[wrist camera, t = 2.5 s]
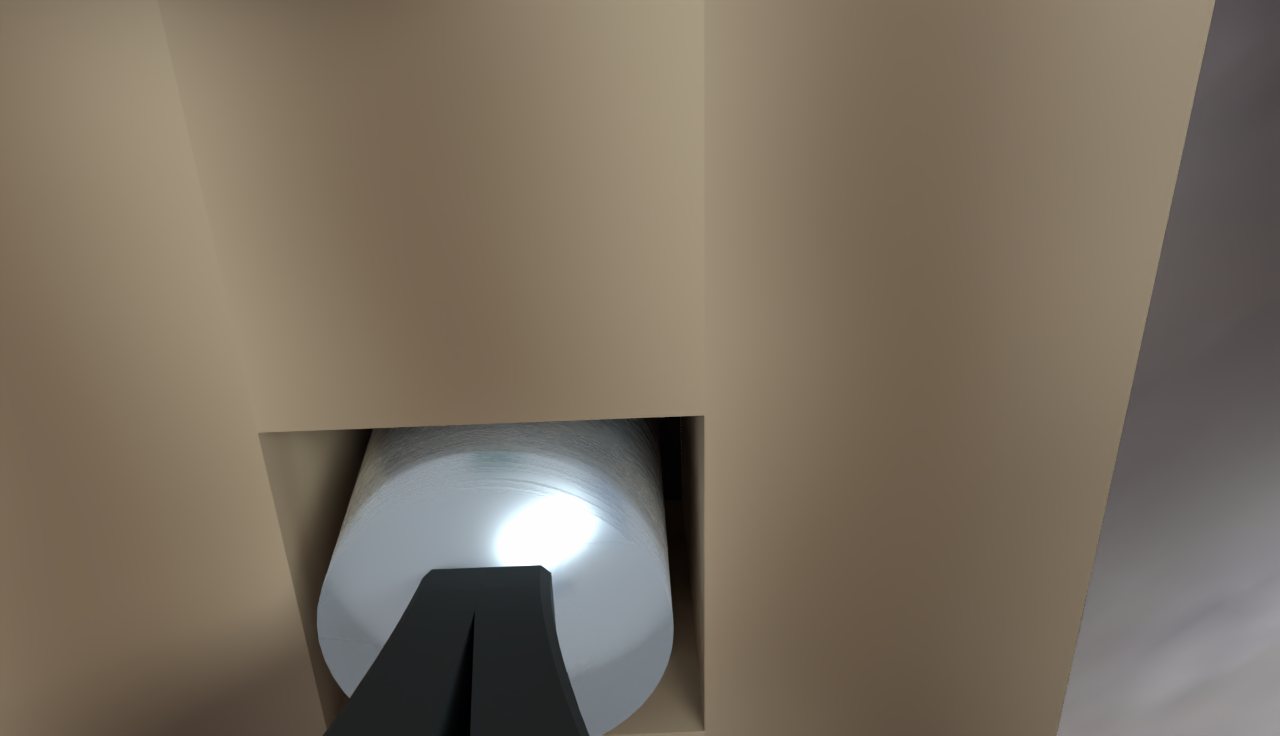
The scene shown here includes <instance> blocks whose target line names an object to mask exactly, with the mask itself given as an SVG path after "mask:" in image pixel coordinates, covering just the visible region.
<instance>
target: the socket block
mask: <svg viewBox="0 0 1280 736" xmlns="http://www.w3.org/2000/svg"><path fill="white" fill-rule="evenodd" d="M1214 5H1215V0H0V736H323V734H324V733H325V732H326V730H327V729H328V728H329V726H330V725H331V724H332V722H333V721H334V720H335V718H336V717H337V716H338V714H339V713H340V711H341V710H342V709H343V707H344V706H345V704H346V703H347V701H348V700H349V697H348V696H347V695H346V694H345V693H344V692H343V690H342V689H341V687H340V686H339V684H338V683H337V682H336V680H335V679H334V677H333V676H332V674H331V672H330V670H329V668H328V666H327V664H326V662H325V660H324V656H323V653H322V650H321V647H320V644H319V638H318V630H317V607H318V603H319V598H320V594H321V589H322V586H323V583H324V580H325V577H326V574H327V571H328V568H329V564H330V561H331V558H332V555H333V552H334V549H335V546H336V543H337V539H338V536H339V533H340V530H341V527H342V524H343V521H344V518H345V514H346V511H347V508H348V505H349V502H350V499H351V496H352V493H353V489H354V486H355V483H356V480H357V477H358V474H359V471H360V468H361V465H362V461H363V458H364V455H365V452H366V449H367V446H368V443H369V440H370V436H371V433H372V430H373V428H394V427H420V426H445V425H471V424H497V423H523V422H548V421H574V420H600V419H625V418H651V417H677V416H680V420H681V499H672V500H664V508H665V521H666V534H667V547H668V560H669V573H670V586H671V599H672V612H673V625H674V632H673V646H672V650H671V654H670V658H669V662H668V664H667V667H666V669H665V671H664V674H663V676H662V678H661V680H660V682H659V683H658V685H657V686H656V688H655V689H654V691H653V693H652V694H651V695H650V696H649V698H648V699H647V700H646V701H645V702H644V703H643V705H642V706H641V707H640V708H639V709H638V710H636V711H635V712H634V713H633V714H632V715H631V716H630V717H629V718H627V719H626V720H625V721H624V722H622V723H621V724H619V725H618V726H616V727H615V728H613V729H612V730H610V731H609V732H607V733H605V734H603V735H601V736H1056V735H1057V731H1058V726H1059V722H1060V717H1061V712H1062V708H1063V703H1064V698H1065V694H1066V689H1067V685H1068V680H1069V675H1070V671H1071V666H1072V661H1073V657H1074V652H1075V648H1076V643H1077V638H1078V634H1079V629H1080V624H1081V620H1082V615H1083V611H1084V606H1085V601H1086V597H1087V592H1088V587H1089V583H1090V578H1091V574H1092V569H1093V564H1094V560H1095V555H1096V550H1097V546H1098V541H1099V537H1100V532H1101V527H1102V523H1103V518H1104V513H1105V509H1106V504H1107V500H1108V495H1109V490H1110V486H1111V481H1112V476H1113V472H1114V467H1115V463H1116V458H1117V453H1118V449H1119V444H1120V439H1121V435H1122V430H1123V426H1124V421H1125V416H1126V412H1127V407H1128V402H1129V398H1130V393H1131V389H1132V384H1133V379H1134V375H1135V370H1136V365H1137V361H1138V356H1139V352H1140V347H1141V342H1142V338H1143V333H1144V328H1145V324H1146V319H1147V315H1148V310H1149V305H1150V301H1151V296H1152V291H1153V287H1154V282H1155V278H1156V273H1157V268H1158V264H1159V259H1160V254H1161V250H1162V245H1163V241H1164V236H1165V231H1166V227H1167V222H1168V217H1169V213H1170V208H1171V203H1172V199H1173V194H1174V190H1175V185H1176V180H1177V176H1178V171H1179V166H1180V162H1181V157H1182V153H1183V148H1184V143H1185V139H1186V134H1187V129H1188V125H1189V120H1190V116H1191V111H1192V106H1193V102H1194V97H1195V92H1196V88H1197V83H1198V79H1199V74H1200V69H1201V65H1202V60H1203V55H1204V51H1205V46H1206V42H1207V37H1208V32H1209V28H1210V23H1211V18H1212V14H1213V9H1214Z"/></svg>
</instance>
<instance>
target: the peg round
mask: <svg viewBox="0 0 1280 736" xmlns="http://www.w3.org/2000/svg"><path fill="white" fill-rule="evenodd" d="M526 565H542V566H543V567H544V568H546V569H547V570H548V571H549V572H551V574H552V586H553V598H554V609H555V621H556V632H557V636H558V641H559V645H560V649H561V653H562V657H563V660H564V664H565V667H566V670H567V673H568V676H569V679H570V682H571V685H572V688H573V691H574V694H575V697H576V700H577V703H578V706H579V709H580V712H581V715H582V717H583V720H584V722H585V725H586V728H587V730H588V733H589V735H590V736H601V735H603V734H605V733H607V732H609V731H610V730H612V729H613V728H615V727H616V726H618V725H619V724H621V723H622V722H624V721H625V720H626V719H627V718H629V717H630V716H631V715H632V714H633V713H634V712H635V711H636V710H638V709H639V708H640V707H641V706H642V705H643V703H644V702H645V701H646V700H647V699H648V698H649V696H650V695H651V694H652V693H653V691H654V689H655V688H656V686H657V685H658V683H659V682H660V680H661V678H662V676H663V674H664V671H665V669H666V667H667V664H668V662H669V658H670V654H671V650H672V646H673V632H674V625H673V612H672V599H671V586H670V573H669V560H668V547H667V534H666V521H665V508H664V495H663V482H662V469H661V456H660V443H659V430H658V417H651V418H625V419H600V420H574V421H548V422H523V423H497V424H471V425H445V426H420V427H394V428H373V430H372V433H371V436H370V440H369V443H368V446H367V449H366V452H365V455H364V458H363V461H362V465H361V468H360V471H359V474H358V477H357V480H356V483H355V486H354V489H353V493H352V496H351V499H350V502H349V505H348V508H347V511H346V514H345V518H344V521H343V524H342V527H341V530H340V533H339V536H338V539H337V543H336V546H335V549H334V552H333V555H332V558H331V561H330V564H329V568H328V571H327V574H326V577H325V580H324V583H323V586H322V589H321V594H320V598H319V603H318V607H317V630H318V638H319V644H320V647H321V650H322V653H323V656H324V660H325V662H326V664H327V666H328V668H329V670H330V672H331V674H332V676H333V677H334V679H335V680H336V682H337V683H338V684H339V686H340V687H341V689H342V690H343V692H344V693H345V694H346V695H347V696H348V697H349V698H350V697H351V695H352V694H353V692H354V691H355V689H356V688H357V686H358V685H359V683H360V682H361V680H362V679H363V677H364V676H365V674H366V673H367V671H368V670H369V668H370V667H371V665H372V664H373V662H374V661H375V659H376V658H377V656H378V655H379V653H380V651H381V650H382V648H383V647H384V645H385V643H386V642H387V640H388V638H389V637H390V635H391V634H392V632H393V630H394V629H395V627H396V625H397V624H398V622H399V620H400V618H401V617H402V615H403V613H404V611H405V610H406V608H407V606H408V604H409V603H410V601H411V599H412V597H413V595H414V593H415V592H416V590H417V588H418V586H419V584H420V582H421V580H422V578H423V577H424V576H425V575H426V574H427V573H428V572H429V571H430V570H432V569H453V568H478V567H503V566H526Z"/></svg>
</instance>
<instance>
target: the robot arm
mask: <svg viewBox="0 0 1280 736" xmlns="http://www.w3.org/2000/svg"><path fill="white" fill-rule="evenodd" d="M323 736H590V735H589V733H588V730H587V728H586V725H585V722H584V720H583V717H582V715H581V712H580V709H579V706H578V703H577V700H576V697H575V694H574V691H573V688H572V685H571V682H570V679H569V676H568V673H567V670H566V667H565V664H564V660H563V657H562V653H561V649H560V645H559V641H558V636H557V632H556V621H555V609H554V598H553V586H552V574H551V572H549V571H548V570H547V569H546V568H544V567H543V566H542V565H526V566H503V567H478V568H453V569H432V570H430V571H429V572H428V573H427V574H426V575H425V576H424V577H423V578H422V580H421V582H420V584H419V586H418V588H417V590H416V592H415V593H414V595H413V597H412V599H411V601H410V603H409V604H408V606H407V608H406V610H405V611H404V613H403V615H402V617H401V618H400V620H399V622H398V624H397V625H396V627H395V629H394V630H393V632H392V634H391V635H390V637H389V638H388V640H387V642H386V643H385V645H384V647H383V648H382V650H381V651H380V653H379V655H378V656H377V658H376V659H375V661H374V662H373V664H372V665H371V667H370V668H369V670H368V671H367V673H366V674H365V676H364V677H363V679H362V680H361V682H360V683H359V685H358V686H357V688H356V689H355V691H354V692H353V694H352V695H351V697H350V698H349V700H348V701H347V703H346V704H345V706H344V707H343V709H342V710H341V711H340V713H339V714H338V716H337V717H336V718H335V720H334V721H333V722H332V724H331V725H330V726H329V728H328V729H327V730H326V732H325V733H324V734H323Z"/></svg>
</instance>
